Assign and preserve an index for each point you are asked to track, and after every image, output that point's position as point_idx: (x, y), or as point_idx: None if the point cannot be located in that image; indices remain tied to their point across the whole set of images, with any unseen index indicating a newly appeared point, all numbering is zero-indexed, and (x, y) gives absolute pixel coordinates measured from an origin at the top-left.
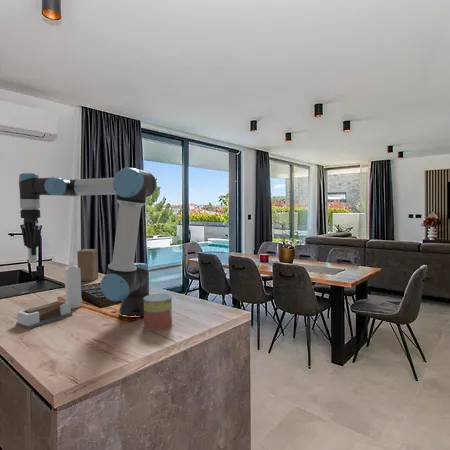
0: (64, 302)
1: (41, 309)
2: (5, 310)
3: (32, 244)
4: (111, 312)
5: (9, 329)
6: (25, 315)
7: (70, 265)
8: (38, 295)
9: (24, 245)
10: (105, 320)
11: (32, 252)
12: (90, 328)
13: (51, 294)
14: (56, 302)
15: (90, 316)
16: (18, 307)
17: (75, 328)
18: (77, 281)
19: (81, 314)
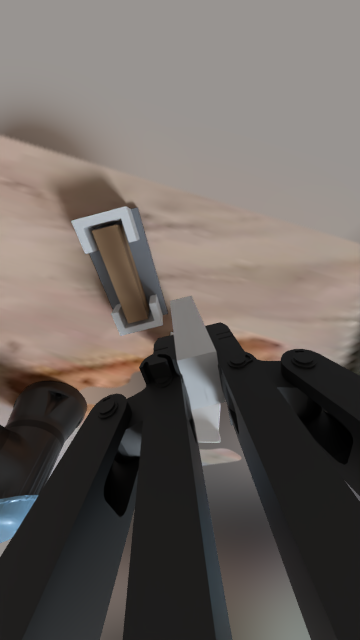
0: (135, 327)
1: (106, 266)
2: (283, 223)
3: (146, 419)
4: (87, 378)
5: (109, 181)
6: (84, 217)
7: (206, 425)
8: (334, 319)
9: (309, 351)
10: (42, 355)
11: (163, 351)
12: (5, 319)
13: (313, 341)
14: (138, 312)
15: (87, 344)
16: (280, 256)
17: (22, 299)
18: None
19: (113, 337)
